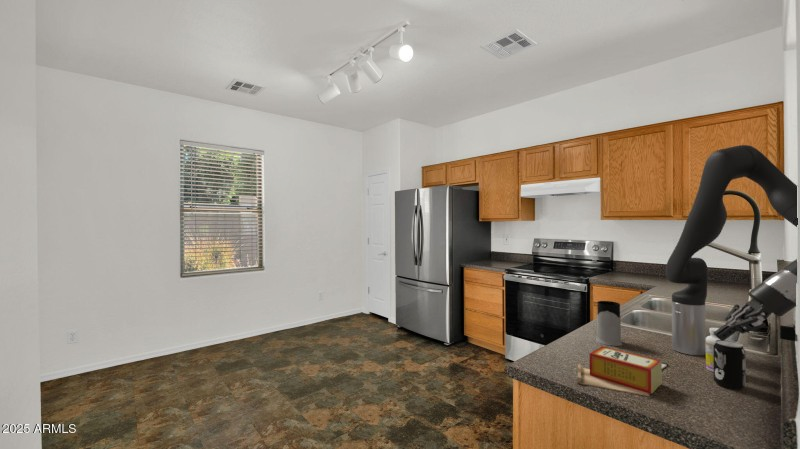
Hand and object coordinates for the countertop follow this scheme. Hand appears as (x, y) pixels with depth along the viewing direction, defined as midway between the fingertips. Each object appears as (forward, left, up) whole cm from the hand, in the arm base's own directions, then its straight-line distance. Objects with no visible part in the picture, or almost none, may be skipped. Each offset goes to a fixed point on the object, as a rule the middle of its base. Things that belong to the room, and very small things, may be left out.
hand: (717, 337), depth 92 cm
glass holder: (-41, -22, -16) cm, 49 cm away
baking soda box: (+1, -13, -13) cm, 18 cm away
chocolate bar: (-21, -17, -17) cm, 32 cm away
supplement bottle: (-22, +6, -16) cm, 28 cm away
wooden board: (0, -24, -16) cm, 29 cm away
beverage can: (-11, +5, -16) cm, 20 cm away
